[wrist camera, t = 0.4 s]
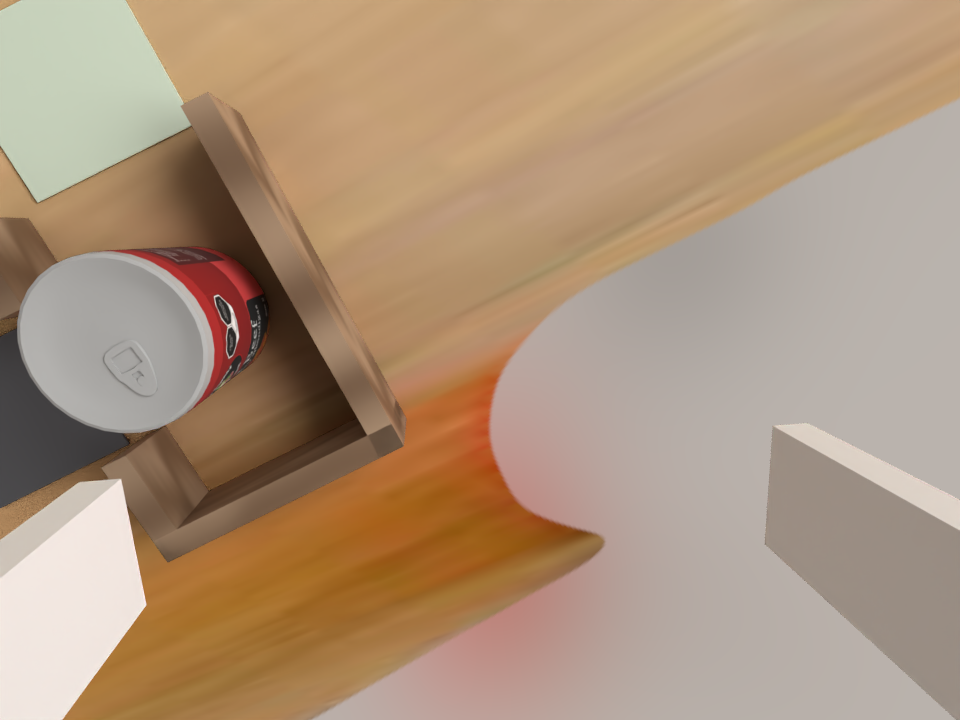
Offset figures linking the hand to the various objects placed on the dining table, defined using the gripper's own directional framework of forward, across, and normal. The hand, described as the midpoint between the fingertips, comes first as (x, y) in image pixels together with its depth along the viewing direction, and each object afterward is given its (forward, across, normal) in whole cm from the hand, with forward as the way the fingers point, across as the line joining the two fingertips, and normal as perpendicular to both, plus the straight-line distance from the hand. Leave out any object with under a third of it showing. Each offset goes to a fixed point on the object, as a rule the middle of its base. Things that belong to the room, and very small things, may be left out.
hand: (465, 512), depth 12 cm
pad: (+26, -19, +14) cm, 35 cm away
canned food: (+26, -14, +1) cm, 29 cm away
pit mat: (+26, -26, -4) cm, 36 cm away
